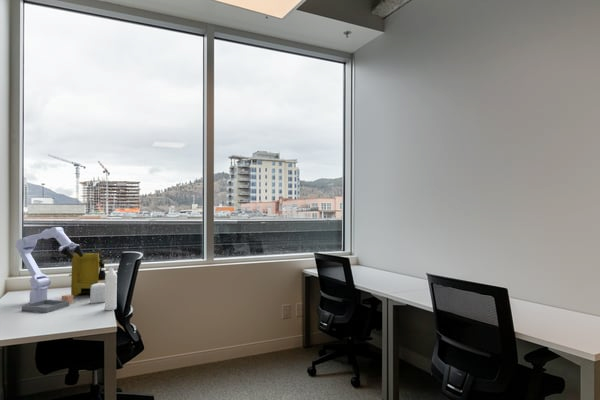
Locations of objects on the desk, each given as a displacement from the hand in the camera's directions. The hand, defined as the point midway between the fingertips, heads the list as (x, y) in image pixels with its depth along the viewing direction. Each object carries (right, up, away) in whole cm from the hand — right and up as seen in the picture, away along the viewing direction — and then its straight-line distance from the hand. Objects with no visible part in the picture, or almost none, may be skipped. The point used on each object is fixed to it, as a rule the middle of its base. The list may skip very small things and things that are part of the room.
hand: (77, 256), depth 237 cm
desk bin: (-14, -30, -9) cm, 34 cm away
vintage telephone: (-7, -31, +28) cm, 43 cm away
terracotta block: (-9, -31, +4) cm, 32 cm away
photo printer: (+10, -31, +7) cm, 33 cm away
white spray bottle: (+25, -30, -11) cm, 41 cm away
